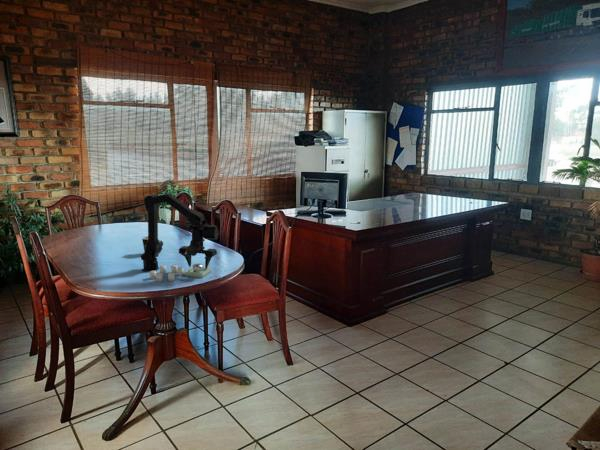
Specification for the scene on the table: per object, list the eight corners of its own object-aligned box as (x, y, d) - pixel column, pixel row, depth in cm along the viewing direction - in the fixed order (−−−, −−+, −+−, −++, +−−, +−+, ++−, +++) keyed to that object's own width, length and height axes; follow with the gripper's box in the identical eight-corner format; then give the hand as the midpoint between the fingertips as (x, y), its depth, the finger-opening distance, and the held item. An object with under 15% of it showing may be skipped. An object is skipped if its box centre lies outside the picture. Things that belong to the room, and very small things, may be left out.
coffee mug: (139, 254, 259) (139, 238, 257) (151, 251, 266) (151, 235, 264) (152, 258, 253) (151, 241, 251) (164, 254, 260) (164, 238, 258)
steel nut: (191, 273, 226) (190, 265, 225) (195, 270, 231) (195, 263, 230) (200, 274, 225) (199, 266, 224) (204, 271, 229) (204, 264, 229)
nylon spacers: (145, 280, 216) (145, 273, 215) (164, 270, 232) (164, 263, 231) (169, 283, 213) (169, 276, 212) (187, 273, 229) (187, 266, 228)
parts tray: (184, 275, 224) (184, 271, 224) (194, 270, 234) (194, 266, 233) (202, 277, 222) (202, 273, 221) (211, 272, 231) (211, 268, 231)
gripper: (172, 239, 219) (173, 270, 222) (207, 243, 214) (207, 274, 217) (183, 235, 229) (184, 263, 232) (217, 238, 225) (217, 267, 228)
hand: (198, 267), depth 227 cm, fingers open, 9 cm apart
